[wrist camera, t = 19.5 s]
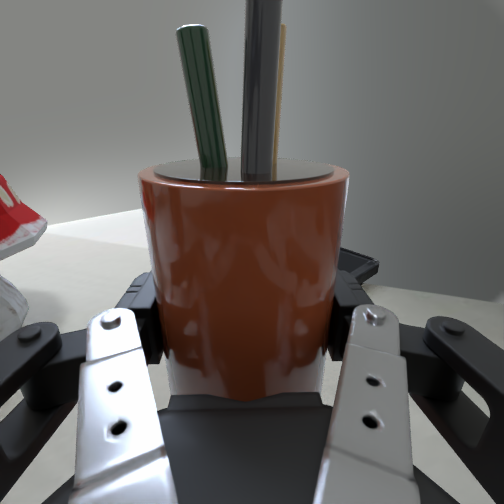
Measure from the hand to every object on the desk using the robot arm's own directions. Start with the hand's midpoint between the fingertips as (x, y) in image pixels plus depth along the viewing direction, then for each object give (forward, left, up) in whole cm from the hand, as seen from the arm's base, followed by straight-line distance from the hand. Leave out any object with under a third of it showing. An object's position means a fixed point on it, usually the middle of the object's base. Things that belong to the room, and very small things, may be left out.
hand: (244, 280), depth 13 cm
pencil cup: (-1, -2, -7) cm, 8 cm away
